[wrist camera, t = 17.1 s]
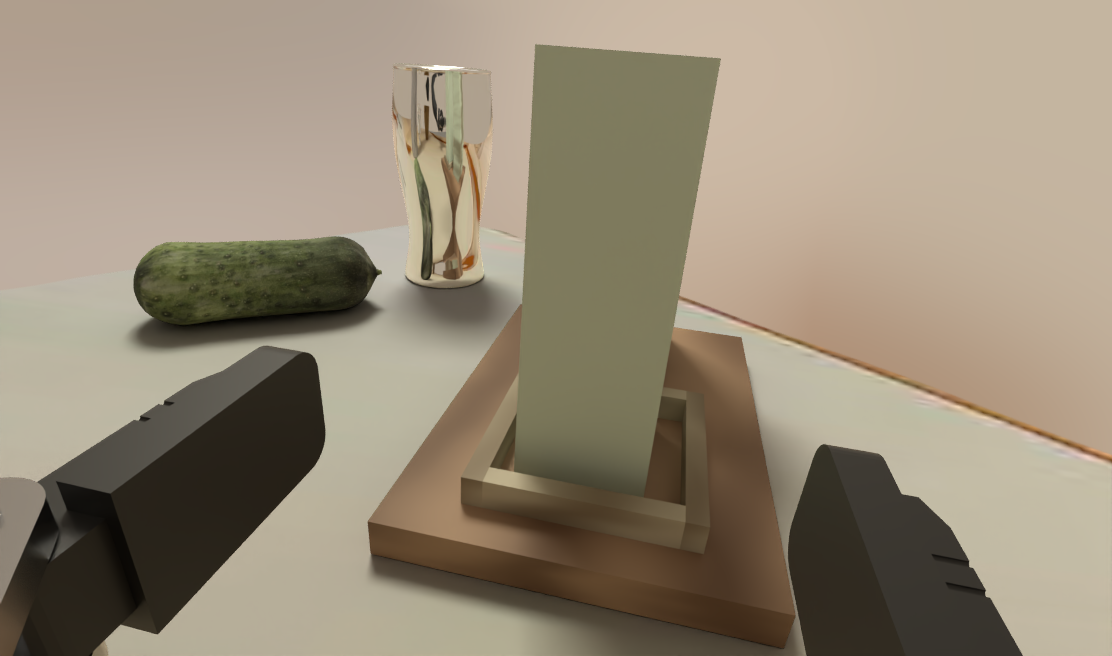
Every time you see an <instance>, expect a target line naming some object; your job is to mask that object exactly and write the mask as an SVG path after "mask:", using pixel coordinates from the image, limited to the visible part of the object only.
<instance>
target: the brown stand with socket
mask: <svg viewBox="0 0 1112 656" xmlns="http://www.w3.org/2000/svg"><path fill="white" fill-rule="evenodd" d="M521 319H522V305H521V304H520V306H519V307H518V309H517V310H516V312H515V313H514V314H513V316H512V317H511V319H510V320H509V322H508V323H507V324H506V326H505V327H504V329H503V330H502V331H501V333H500V334H499V336H498V337H497V339H496V340H495V341H494V343H493V344H492V346H491V347H490V349H489V350H488V351H487V353H486V354H485V356H484V357H483V358H482V360H481V361H480V363H479V364H478V366H477V367H476V368H475V370H474V371H473V373H472V374H471V375H470V377H469V378H468V380H467V381H466V383H465V384H464V385H463V387H462V388H461V390H460V391H459V393H458V394H457V395H456V397H455V398H454V400H453V401H452V402H451V404H450V405H449V407H448V408H447V410H446V411H445V412H444V414H443V415H442V417H441V418H440V420H439V421H438V422H437V424H436V425H435V427H434V428H433V429H432V431H431V432H430V434H429V435H428V437H427V438H426V439H425V441H424V442H423V444H422V445H421V447H420V448H419V449H418V451H417V452H416V454H415V455H414V456H413V458H412V459H411V461H410V462H409V464H408V465H407V466H406V468H405V469H404V471H403V472H402V474H401V475H400V476H399V478H398V479H397V481H396V482H395V483H394V485H393V486H392V488H391V489H390V491H389V492H388V493H387V495H386V496H385V498H384V499H383V501H382V502H381V503H380V505H379V506H378V508H377V509H376V510H375V512H374V513H373V515H372V516H371V518H370V519H369V520H368V529H369V540H370V551H371V554H374V555H379V556H383V557H387V558H392V559H396V560H400V561H405V562H409V563H413V564H418V565H422V566H426V567H431V568H435V569H439V570H444V571H448V572H453V573H457V574H461V575H466V576H470V577H474V578H479V579H483V580H487V581H492V582H496V583H500V584H505V585H509V586H513V587H518V588H522V589H527V590H531V591H535V592H540V593H544V594H548V595H553V596H557V597H561V598H566V599H570V600H574V601H579V602H583V603H587V604H592V605H596V606H601V607H605V608H609V609H614V610H618V611H622V612H627V613H631V614H635V615H640V616H644V617H648V618H653V619H657V620H661V621H666V622H670V623H675V624H679V625H683V626H688V627H692V628H696V629H701V630H705V631H709V632H714V633H718V634H722V635H727V636H731V637H735V638H740V639H744V640H749V641H753V642H757V643H762V644H766V645H770V646H775V647H779V648H783V649H784V646H785V643H786V641H787V638H788V635H789V632H790V630H791V627H792V624H793V621H794V619H795V616H796V615H795V610H794V605H793V600H792V595H791V590H790V585H789V579H788V574H787V569H786V564H785V559H784V554H783V549H782V543H781V538H780V533H779V528H778V523H777V518H776V513H775V507H774V502H773V497H772V492H771V487H770V482H769V477H768V471H767V466H766V461H765V456H764V451H763V446H762V441H761V436H760V430H759V425H758V420H757V415H756V410H755V405H754V400H753V394H752V389H751V384H750V379H749V374H748V369H747V364H746V358H745V353H744V348H743V343H742V338H741V337H735V336H728V335H721V334H715V333H708V332H701V331H695V330H688V329H681V328H675V327H673V333H672V338H671V344H670V350H669V355H668V361H667V367H666V372H665V378H664V384H663V389H662V395H661V401H660V406H659V412H658V418H657V423H656V429H655V435H654V440H653V446H652V452H651V458H650V463H649V469H648V475H647V480H646V486H645V492H644V497H638V496H633V495H628V494H623V493H618V492H613V491H608V490H603V489H598V488H593V487H588V486H583V485H578V484H572V483H567V482H562V481H557V480H552V479H547V478H542V477H537V476H532V475H527V474H522V473H517V472H514V458H515V438H516V418H517V398H518V379H519V359H520V339H521Z"/></svg>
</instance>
